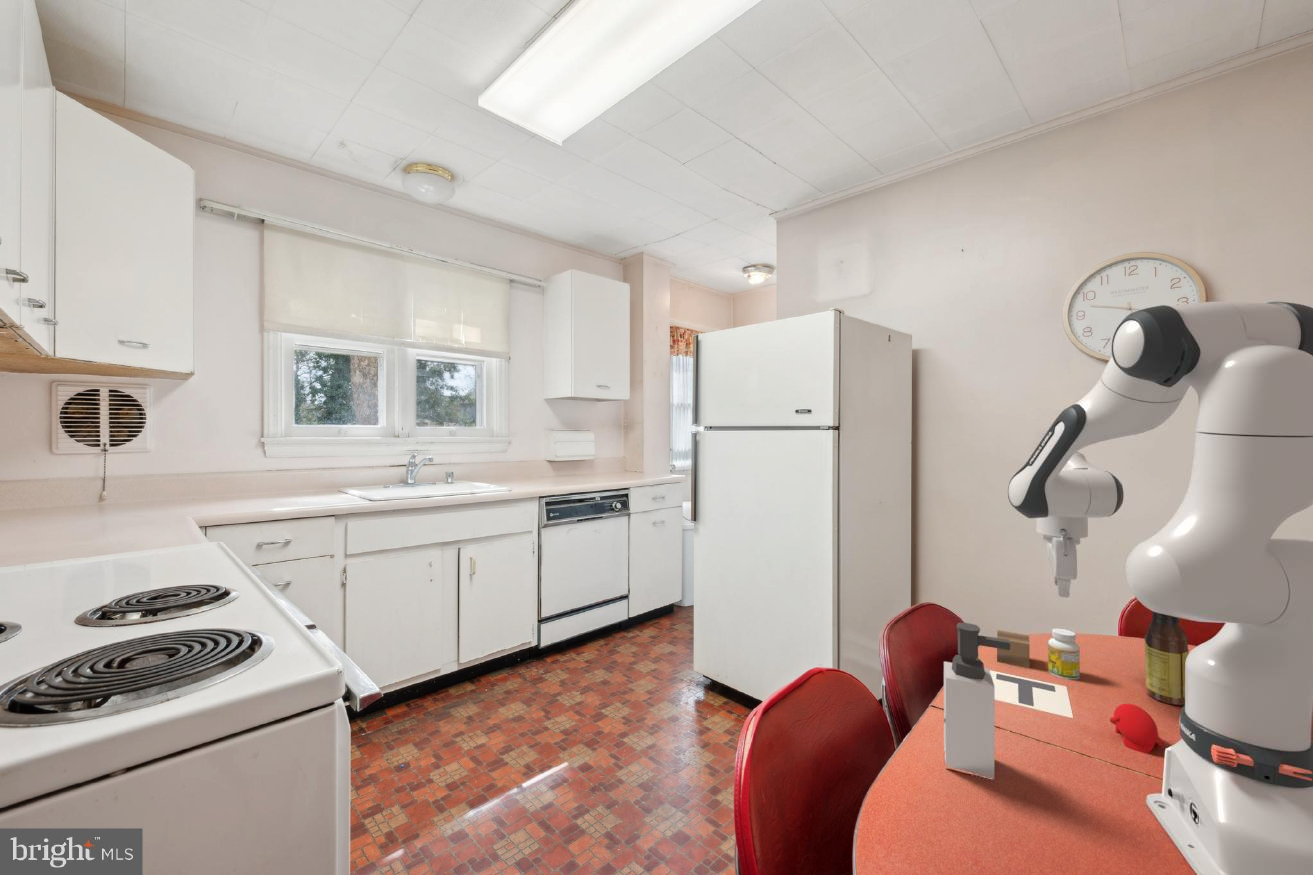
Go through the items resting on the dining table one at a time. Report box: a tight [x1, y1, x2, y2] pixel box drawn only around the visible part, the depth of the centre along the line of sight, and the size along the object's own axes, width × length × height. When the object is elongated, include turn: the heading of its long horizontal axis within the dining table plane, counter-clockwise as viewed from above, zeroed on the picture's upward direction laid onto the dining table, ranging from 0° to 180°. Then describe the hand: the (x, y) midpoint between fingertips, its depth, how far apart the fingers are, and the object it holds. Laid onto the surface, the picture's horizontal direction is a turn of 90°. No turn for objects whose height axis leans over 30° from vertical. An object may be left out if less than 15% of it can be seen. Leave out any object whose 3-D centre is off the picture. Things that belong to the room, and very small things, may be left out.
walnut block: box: [996, 629, 1031, 669], centre depth 120 cm, size 6×6×6 cm
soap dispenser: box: [943, 622, 1010, 780], centre depth 83 cm, size 6×9×22 cm
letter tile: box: [989, 669, 1074, 719], centre depth 105 cm, size 14×14×1 cm
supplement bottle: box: [1047, 628, 1081, 680], centre depth 113 cm, size 5×5×10 cm
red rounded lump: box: [1109, 703, 1164, 754], centre depth 89 cm, size 8×6×6 cm
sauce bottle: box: [1144, 611, 1190, 706], centre depth 103 cm, size 7×6×20 cm
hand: (1061, 590), depth 113 cm, fingers open, 8 cm apart
